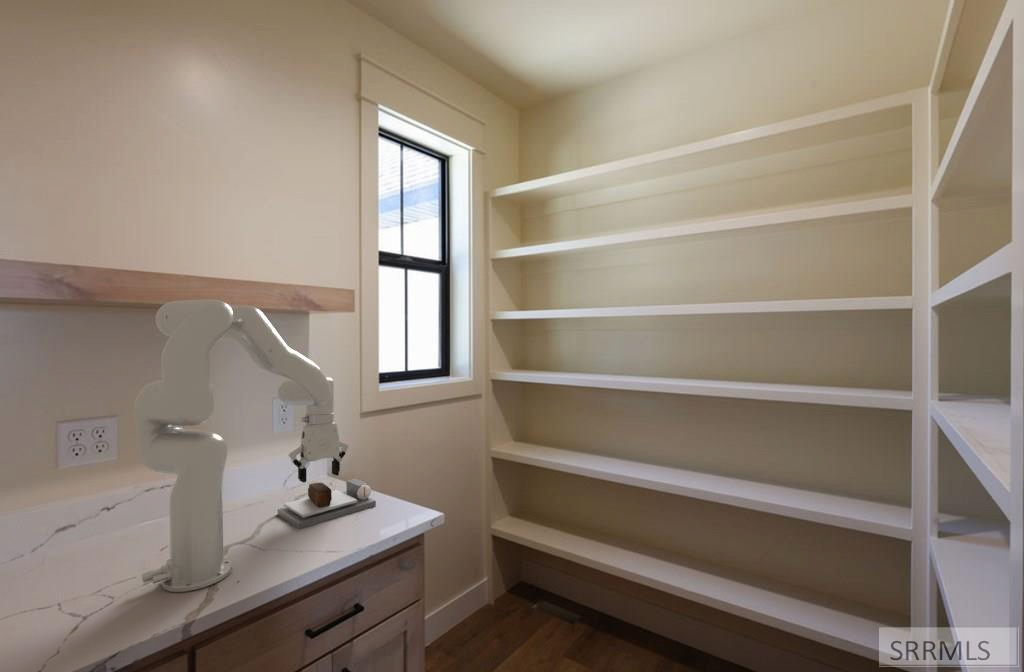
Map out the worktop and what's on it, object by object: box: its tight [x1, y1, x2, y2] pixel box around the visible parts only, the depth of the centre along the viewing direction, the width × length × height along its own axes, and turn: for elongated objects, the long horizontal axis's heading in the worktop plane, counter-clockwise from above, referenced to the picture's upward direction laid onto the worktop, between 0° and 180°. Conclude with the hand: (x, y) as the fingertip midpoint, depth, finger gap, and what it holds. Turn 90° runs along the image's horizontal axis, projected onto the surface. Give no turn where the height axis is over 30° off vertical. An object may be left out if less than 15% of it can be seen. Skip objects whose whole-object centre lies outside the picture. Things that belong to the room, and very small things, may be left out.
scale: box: [277, 478, 377, 530], centre depth 141 cm, size 23×15×6 cm, turn 137°
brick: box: [307, 482, 332, 507], centre depth 139 cm, size 11×4×5 cm, turn 38°
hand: (319, 478), depth 139 cm, fingers open, 9 cm apart
